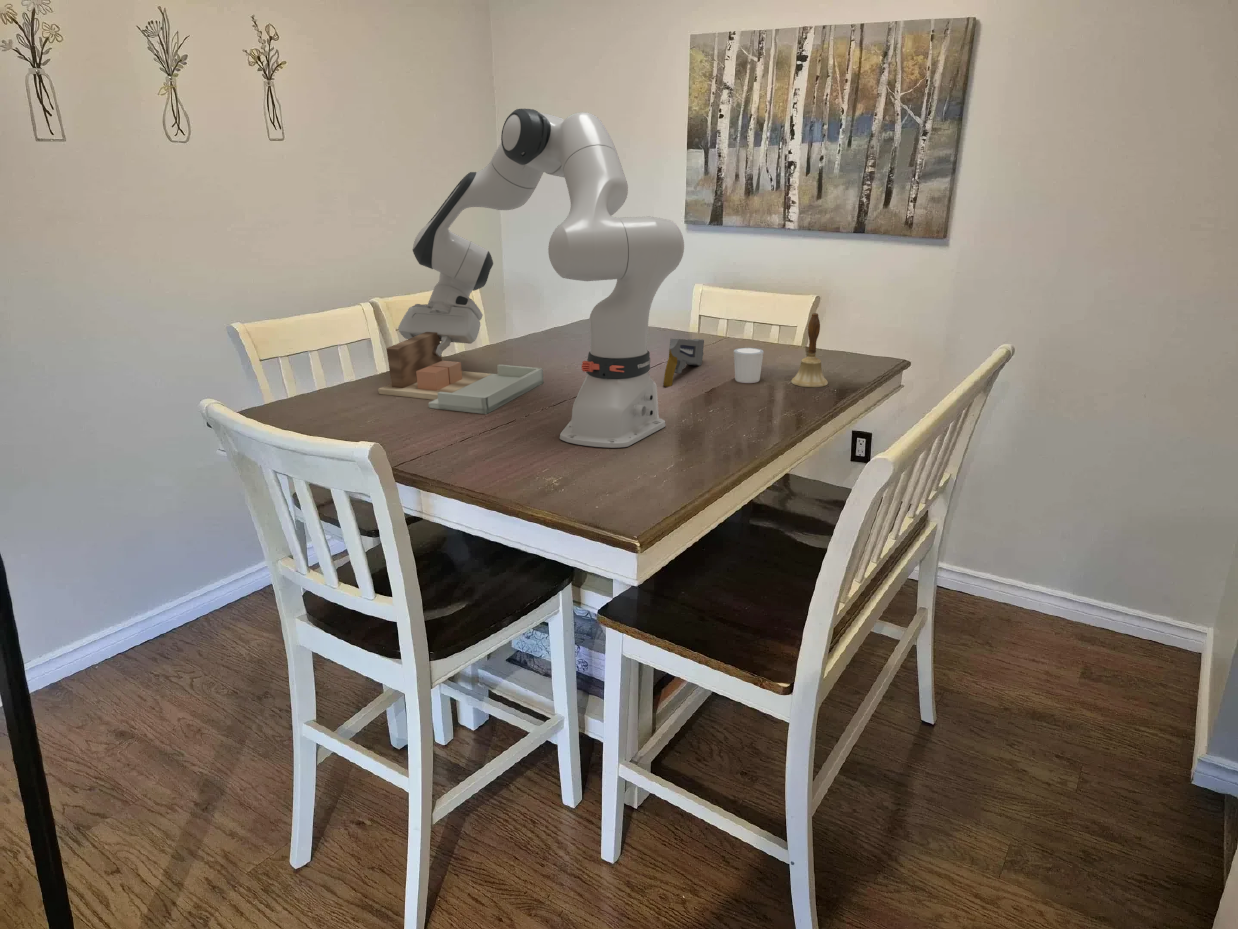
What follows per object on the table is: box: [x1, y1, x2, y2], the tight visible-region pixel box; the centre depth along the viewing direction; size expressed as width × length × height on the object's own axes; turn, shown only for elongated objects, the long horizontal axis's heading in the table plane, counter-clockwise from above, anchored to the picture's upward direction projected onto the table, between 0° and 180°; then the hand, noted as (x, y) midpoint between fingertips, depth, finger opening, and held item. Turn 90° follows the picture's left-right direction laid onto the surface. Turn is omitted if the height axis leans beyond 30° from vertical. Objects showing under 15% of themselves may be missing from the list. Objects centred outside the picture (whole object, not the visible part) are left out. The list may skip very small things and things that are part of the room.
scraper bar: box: [386, 332, 443, 388], centre depth 192 cm, size 16×3×9 cm, turn 157°
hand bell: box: [790, 312, 829, 388], centre depth 188 cm, size 8×8×16 cm
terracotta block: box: [416, 366, 449, 391], centre depth 187 cm, size 5×5×4 cm
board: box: [377, 370, 492, 401], centre depth 192 cm, size 20×18×1 cm
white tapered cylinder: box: [733, 347, 764, 384], centre depth 192 cm, size 7×7×7 cm
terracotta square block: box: [430, 360, 463, 384], centre depth 191 cm, size 5×5×4 cm
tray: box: [428, 364, 544, 415], centre depth 184 cm, size 26×14×4 cm, turn 158°
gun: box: [662, 338, 705, 388], centre depth 199 cm, size 3×25×15 cm, turn 158°
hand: (428, 354), depth 196 cm, fingers closed on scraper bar, 3 cm apart
